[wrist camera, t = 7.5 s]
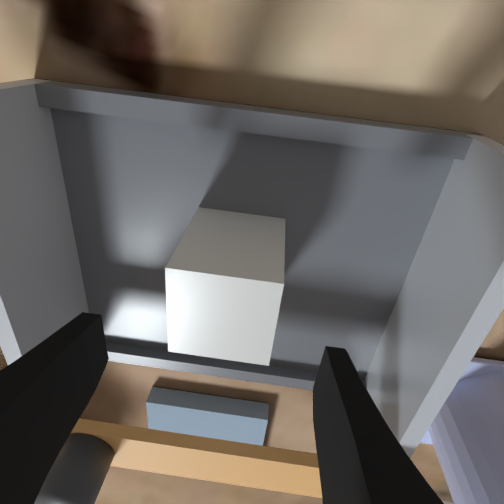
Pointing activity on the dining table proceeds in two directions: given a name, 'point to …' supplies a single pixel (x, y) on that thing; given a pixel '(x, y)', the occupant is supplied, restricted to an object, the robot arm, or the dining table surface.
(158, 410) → the pad
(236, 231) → the block
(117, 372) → the dining table surface
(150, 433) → the bar
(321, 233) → the case
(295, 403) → the dining table surface
